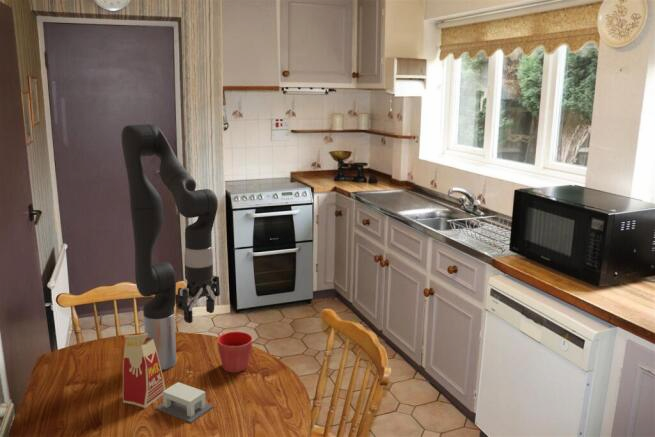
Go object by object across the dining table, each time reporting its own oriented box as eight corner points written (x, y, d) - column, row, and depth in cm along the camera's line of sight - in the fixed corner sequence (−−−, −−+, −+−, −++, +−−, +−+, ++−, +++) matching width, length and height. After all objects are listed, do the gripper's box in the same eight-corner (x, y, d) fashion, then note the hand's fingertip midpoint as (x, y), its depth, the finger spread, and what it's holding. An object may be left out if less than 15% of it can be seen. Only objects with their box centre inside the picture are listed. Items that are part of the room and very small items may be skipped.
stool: (162, 391, 157) (190, 401, 152) (178, 382, 162) (205, 391, 158) (163, 406, 158) (190, 417, 154) (178, 396, 163) (205, 406, 159)
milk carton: (166, 392, 166) (163, 328, 162) (146, 408, 158) (142, 341, 153) (139, 386, 169) (135, 323, 165) (118, 402, 161) (114, 336, 156)
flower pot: (246, 377, 176) (245, 347, 174) (212, 372, 178) (211, 343, 176) (257, 361, 186) (257, 333, 184) (225, 357, 188) (224, 329, 186)
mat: (155, 408, 158) (155, 407, 158) (178, 394, 165) (178, 392, 165) (191, 423, 152) (191, 421, 151) (213, 407, 159) (213, 405, 159)
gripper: (190, 271, 149) (191, 329, 153) (226, 258, 161) (226, 312, 165) (169, 266, 153) (171, 322, 157) (206, 253, 164) (207, 305, 168)
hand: (199, 317), depth 161 cm, fingers open, 8 cm apart
